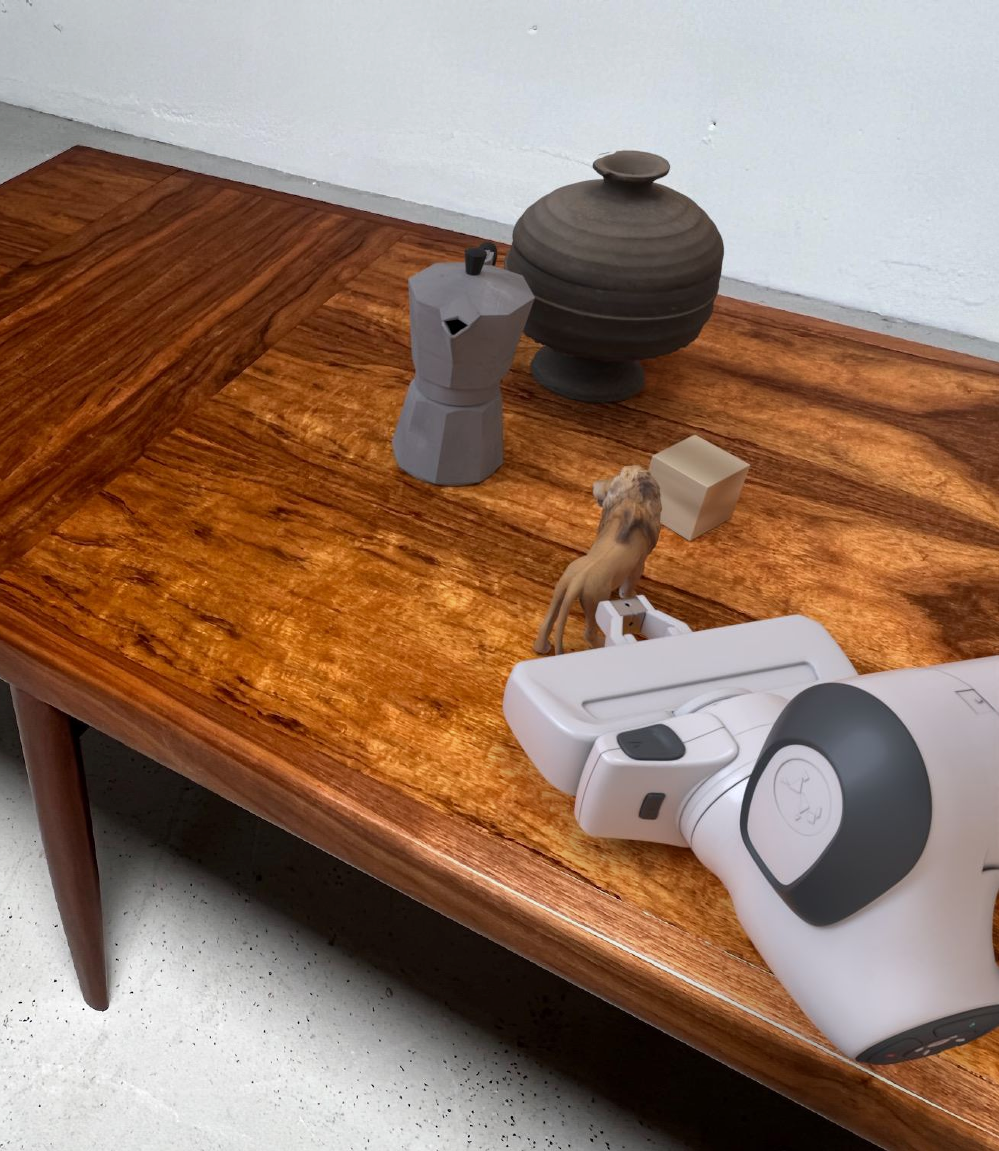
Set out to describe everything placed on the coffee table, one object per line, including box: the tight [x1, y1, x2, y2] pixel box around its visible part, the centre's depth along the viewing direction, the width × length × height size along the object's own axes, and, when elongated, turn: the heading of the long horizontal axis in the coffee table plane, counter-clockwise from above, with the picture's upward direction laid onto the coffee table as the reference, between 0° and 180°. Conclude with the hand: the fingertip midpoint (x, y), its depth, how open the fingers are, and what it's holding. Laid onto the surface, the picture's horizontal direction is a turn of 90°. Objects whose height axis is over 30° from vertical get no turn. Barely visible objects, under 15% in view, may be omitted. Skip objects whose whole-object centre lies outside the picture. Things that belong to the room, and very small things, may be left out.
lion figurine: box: [532, 464, 662, 656], centre depth 75 cm, size 15×5×9 cm, turn 152°
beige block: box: [647, 434, 751, 542], centre depth 86 cm, size 5×5×5 cm
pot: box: [503, 149, 725, 404], centre depth 97 cm, size 18×18×20 cm
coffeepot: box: [391, 241, 535, 487], centre depth 88 cm, size 15×9×18 cm, turn 160°
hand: (617, 605), depth 72 cm, fingers closed
